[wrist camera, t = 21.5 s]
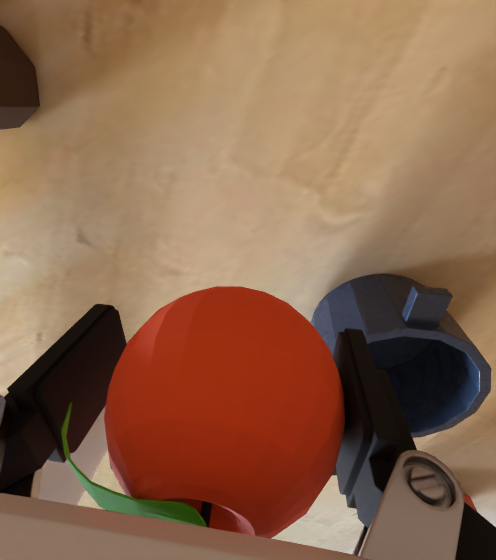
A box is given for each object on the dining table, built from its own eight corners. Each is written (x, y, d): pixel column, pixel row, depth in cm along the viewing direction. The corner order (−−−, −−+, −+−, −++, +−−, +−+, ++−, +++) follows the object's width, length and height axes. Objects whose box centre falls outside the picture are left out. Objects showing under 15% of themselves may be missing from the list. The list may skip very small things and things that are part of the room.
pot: (300, 378, 37) (302, 442, 30) (326, 243, 27) (338, 289, 20) (409, 392, 36) (439, 463, 28) (476, 255, 26) (548, 310, 19)
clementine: (148, 370, 14) (38, 569, 8) (126, 238, 10) (-103, 405, 4) (312, 393, 13) (334, 630, 7) (347, 261, 10) (445, 494, 4)
